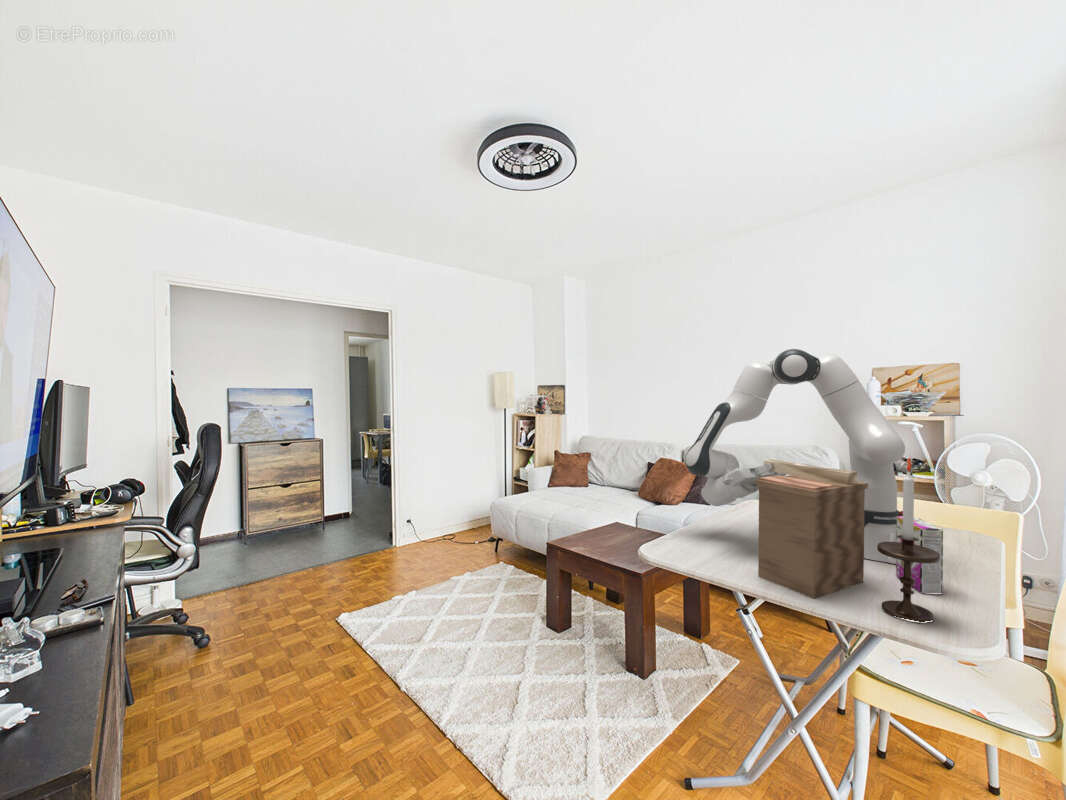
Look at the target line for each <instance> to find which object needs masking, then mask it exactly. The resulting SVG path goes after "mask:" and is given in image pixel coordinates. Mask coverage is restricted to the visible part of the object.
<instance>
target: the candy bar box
mask: <svg viewBox="0 0 1066 800" xmlns="http://www.w3.org/2000/svg"><path fill="white" fill-rule="evenodd" d="M896 518H897V534H896V537H897V536H898V535H903V516H897V517H896ZM913 537H915V538H918V539H919V541H914V545H918V546H922V547H926V548H929V549H932V550H934V551H936V552H938V553H939V554H940V561H939V562H936V563H917V562H911V578H913V579H914V580H915V584H914V585H913V586H912V589H914V588H915V591H917V590H918V591H917V592H919V593H920V592H921V593H920V594H922V593H942V594H943V585H944V584H943V583H944V582H943V575H944V573H943V572H944V571H943V570H944V569H943V563H944V562H943V561H944V560H943V559H944V558H943V557H944V556H943V555H944V542H943V541H944V529H942V528H941V527H938V526H936V525H934V524H931V523H929V522H928V521H925V520H923V519H921V518H919V517H917V516H914V521H913ZM896 542H901V543H902V539H900V538H898V537H897V538H896ZM895 565H896V569H895V570H896V571H895V573H896V574H895V576H896V577H897V578H898V579H899V578H900V577H902V576H904V561H902V560H899V559H896V564H895Z"/></svg>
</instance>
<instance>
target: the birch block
mask: <svg viewBox="0 0 1066 800" xmlns="http://www.w3.org/2000/svg"><path fill="white" fill-rule="evenodd" d="M768 463H772V464H773V466H774V469H772V470H770V472H776V473H782V474H787V475H786V476H790V475H793V476H799V477H805V478H811V479H816V480H822V481H828V482H834V483H840V484H845V485H850V484H856V483H857V472H855V471H851V470H848V469H847V470H846V469H841V468H835V467H830V466H823V465H822V466H821V465H816V464H809V463H798V462H793V461H792V462H791V461H784V460H778V459H764V460H763V465H766V464H768Z"/></svg>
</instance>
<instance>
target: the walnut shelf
mask: <svg viewBox="0 0 1066 800" xmlns="http://www.w3.org/2000/svg"><path fill="white" fill-rule="evenodd" d="M756 486H759V490H758V550H757V551H758V555H757V556H758V559H757V560H758V561H757V562H758V564H757V565H758V570H757V572H758V573H757V574H758V576H757V577H758V578H761V579H764V580H766V581H769V582H771V583H773V582H774V584H777V585H778V584H779V586H781V585H782V586H781V587H783V586H784V588H786V587H787V588H786V589H788V588H789V589H788V590H791V589H792V590H791V591H793V590H794V591H793V592H795V593H798V592H799V594H801V595H803V594H804V596H806V597H808V596H809V597H808V598H810V597H811V599H814V600H815V599H817V598H820V597H823V596H826V595H830V594H832V593H835V592H838V591H841V589H842V590H845V589H847V587H848V588H850V586H851V587H853V585H854V586H857V585H860V584H862V583H864V582H865V581H864V579H865V578H864V577H865V576H864V575H865V573H864V570H865V566H864V565H865V563H864V562H865V558H864V504H865V489H868V483H865V482H859V481H857V483H856V484H850V485H845V484H840V483H834V482H828V481H822V480H816V479H811V478H805V477H799V476H793V475H786V476H779V475H777V476H769V477H761V478H759V480H756ZM859 583H860V584H859ZM856 584H857V585H856ZM844 588H845V589H844Z"/></svg>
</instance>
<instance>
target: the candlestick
mask: <svg viewBox="0 0 1066 800" xmlns="http://www.w3.org/2000/svg"><path fill="white" fill-rule="evenodd" d="M906 463H907V465H906V471H907V472H906V475H905V477H903V480H902V486H903V487H902V511H903V535H898V536H897V537H898V538H900V539H902V543H901V542H881V543H878V551H879V552H880V553H882V554H884V555H886V556H889V557H892V558H896V559H899V560H902V561H904V576H902V577H900V578H899V577H898V579H899V582H900V583H901V584H902V588H900V589H899V590H900V592H901V593H902V595H903V596H902V600H891V599H890V600H885V601H882V603H881V610H882V609H883V610H884V611H883V610H882V611H883V612H884V613H886V614H887V615H888V614H889V615H888V616H890V615H891V616H890V617H892V616H896V617H899V618H904V619H909V620H914V621H919V622H925V621H931V620H933V621H934V619H933V618H934V614H933V613H932V612H931V611H930V610H928V609H927V608H926V607H923V606H921V605H917V604H915V603H913V602H912V595H914V594H915V591H914V590H912V589H913V587H912V586H913V585H914V584H915V580H914V579H913V578H911V562H917V563H936V562H939V561H940V554H939V553H938V552H936V551H934V550H932V549H929V548H926V547H922V546H918V545H914V541H919V539H918V538H915V537H913V521H914V517H915V516H914V514H915V513H914V510H915V509H914V508H915V507H914V505H915V496H914V495H915V478H914V477H912V475H911V471H912V470H911V469H912V462H911V457H908V459H907V460H906Z"/></svg>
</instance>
